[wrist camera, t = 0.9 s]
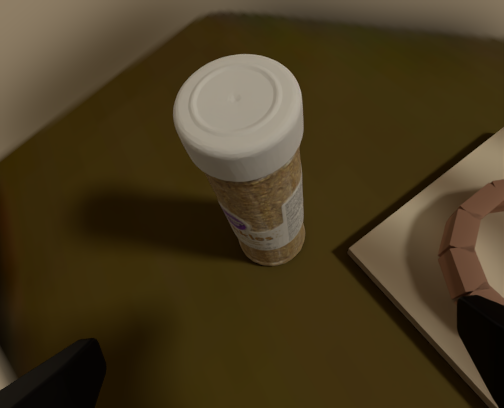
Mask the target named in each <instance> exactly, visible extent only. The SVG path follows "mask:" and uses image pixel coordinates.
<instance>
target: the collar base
mask: <svg viewBox="0 0 504 408" xmlns="http://www.w3.org/2000/svg"><path fill="white" fill-rule="evenodd" d="M347 254H348V255H349V256H350V257H351V258H352V259H353V260H354V261H355V262H356V263H357V264H358V266H359V267H360V268H361V269H362V270H363V271H364V272H365V273H366V274H367V275H368V276H369V278H370V279H371V280H372V281H373V282H374V283H375V284H376V285H377V286H378V287H379V288H380V289H381V291H382V292H383V293H384V294H385V295H386V296H387V297H388V298H389V299H390V300H391V301H392V303H393V304H394V305H395V306H396V307H397V308H398V309H399V310H400V311H401V312H402V313H403V314H404V316H405V317H406V318H407V319H408V320H409V321H410V322H411V323H412V324H413V325H414V326H415V328H416V329H417V330H418V331H419V332H420V333H421V334H422V335H423V336H424V337H425V338H426V339H427V341H428V342H429V343H430V344H431V345H432V346H433V347H434V348H435V349H436V350H437V351H438V353H439V354H440V355H441V356H442V357H443V358H444V359H445V360H446V361H447V362H448V363H449V364H450V366H451V367H452V368H453V369H454V370H455V371H456V372H457V373H458V374H459V375H460V376H461V378H462V379H463V380H464V381H465V382H466V383H467V384H468V385H469V386H470V387H471V388H472V389H473V391H474V392H475V393H476V394H477V395H478V396H479V397H480V398H481V399H482V400H483V401H484V402H485V404H486V405H487V406H488V407H489V408H499V407H498V406H497V404H496V403H495V401H494V400H493V398H492V396H491V394H490V393H489V391H488V389H487V387H486V385H485V384H484V382H483V380H482V378H481V376H480V374H479V372H478V370H477V369H476V367H475V365H474V363H473V361H472V359H471V357H470V355H469V354H468V352H467V350H466V348H465V346H464V344H463V342H462V340H461V339H460V337H459V334H458V331H457V300H458V298H459V297H461V296H468V295H479V296H482V297H484V298H487V299H489V300H492V301H494V302H497V303H499V304H502V305H504V127H503V128H502V129H501V130H499V131H498V132H497V133H496V134H494V135H493V136H492V137H490V138H489V139H488V140H487V141H485V142H484V143H483V144H482V145H480V146H479V147H478V148H476V149H475V150H474V151H473V152H471V153H470V154H469V155H467V156H466V157H465V158H464V159H462V160H461V161H460V162H459V163H457V164H456V165H455V166H453V167H452V168H451V169H450V170H448V171H447V172H446V173H444V174H443V175H442V176H441V177H439V178H438V179H437V180H436V181H434V182H433V183H432V184H430V185H429V186H428V187H427V188H425V189H424V190H423V191H421V192H420V193H419V194H418V195H416V196H415V197H414V198H413V199H411V200H410V201H409V202H407V203H406V204H405V205H404V206H402V207H401V208H400V209H398V210H397V211H396V212H395V213H393V214H392V215H391V216H390V217H388V218H387V219H386V220H384V221H383V222H382V223H381V224H379V225H378V226H377V227H375V228H374V229H373V230H372V231H370V232H369V233H368V234H367V235H365V236H364V237H363V238H361V239H360V240H359V241H358V242H356V243H355V244H354V245H352V246H351V247H350V248H349V249H348V252H347Z"/></svg>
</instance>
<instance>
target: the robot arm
mask: <svg viewBox="0 0 504 408" xmlns="http://www.w3.org/2000/svg"><path fill="white" fill-rule="evenodd" d="M457 331H458V334H459V337H460V339H461V340H462V342H463V344H464V346H465V348H466V350H467V352H468V354H469V355H470V357H471V359H472V361H473V363H474V365H475V367H476V369H477V370H478V372H479V374H480V376H481V378H482V380H483V382H484V384H485V385H486V387H487V389H488V391H489V393H490V394H491V396H492V398H493V400H494V401H495V403H496V404H497V406H498V407H499V408H504V305H502V304H499V303H497V302H494V301H492V300H489V299H487V298H484V297H482V296H479V295H468V296H461V297H459V298H458V300H457ZM105 373H106V362H105V359H104V357H103V354H102V351H101V348H100V345H99V343H98V341H97V340H96V339H94V338H89V339H81V340H78V341H76V342H75V343H73V344H72V345H70V346H69V347H67V348H65V349H64V350H62V351H61V352H59V353H58V354H56V355H55V356H53V357H51V358H50V359H48V360H47V361H45V362H44V363H42V364H41V365H39V366H37V367H36V368H34V369H33V370H31V371H30V372H28V373H27V374H25V375H23V376H22V377H20V378H19V379H17V380H16V381H14V382H13V383H11V384H9V385H8V386H6V387H5V388H3V389H2V390H0V408H94V407H95V404H96V401H97V398H98V395H99V392H100V389H101V386H102V383H103V380H104V377H105Z"/></svg>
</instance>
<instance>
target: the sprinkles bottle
mask: <svg viewBox="0 0 504 408" xmlns="http://www.w3.org/2000/svg"><path fill="white" fill-rule="evenodd" d="M173 119H174V124H175V128H176V131H177V133H178V135H179V137H180V139H181V141H182V143H183V145H184V147H185V149H186V151H187V153H188V154H189V156H190V158H191V159H192V161H193V162H194V163H195V165H196V166H197V167H198V168H200V169H201V170H202V171H203V172H204V173H205V175H206V176H207V178H208V180H209V182H210V184H211V186H212V188H213V190H214V192H215V194H216V195H217V198H218V202H219V204H220V206H221V208H222V210H223V212H224V214H225V215H226V217H227V219H228V221H229V223H230V225H231V227H232V229H233V231H234V233H235V235H236V236H237V237H238V240H239V243H240V246H241V248H242V250H243V252H244V253H245V255H246V256H247V257H248V258H250V259H251V260H252V261H253V262H256V263H258V264H261V265H266V266H277V265H280V264H284V263H286V262H288V261H289V260H291V259H292V258H294V257H295V256H296V255H297V253H298V252H299V251H300V250H301V248H302V245H303V243H304V239H305V228H304V224H303V215H304V214H303V191H302V168H301V162H300V152H299V145H300V142H301V139H302V135H303V107H302V96H301V91H300V87H299V84H298V82H297V81H296V79H295V77H294V76H293V74H292V73H291V72H290V71H289V70H288V69H287V68H286V67H284V66H283V65H282V64H280V63H279V62H277V61H275V60H272V59H270V58H267V57H264V56H259V55H252V54H240V55H232V56H227V57H223V58H220V59H217V60H215V61H212V62H210V63H208V64H206V65H205V66H203V67H201V68H200V69H198V70H197V71H196V72H195V73H193V74H192V75H191V76H190V77H189V78H188V79H187V80H186V82H185V83H184V84H183V86H182V87H181V89H180V90H179V92H178V94H177V97H176V100H175V103H174V109H173Z"/></svg>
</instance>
